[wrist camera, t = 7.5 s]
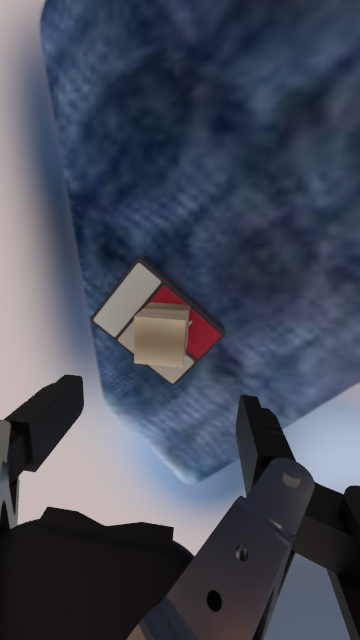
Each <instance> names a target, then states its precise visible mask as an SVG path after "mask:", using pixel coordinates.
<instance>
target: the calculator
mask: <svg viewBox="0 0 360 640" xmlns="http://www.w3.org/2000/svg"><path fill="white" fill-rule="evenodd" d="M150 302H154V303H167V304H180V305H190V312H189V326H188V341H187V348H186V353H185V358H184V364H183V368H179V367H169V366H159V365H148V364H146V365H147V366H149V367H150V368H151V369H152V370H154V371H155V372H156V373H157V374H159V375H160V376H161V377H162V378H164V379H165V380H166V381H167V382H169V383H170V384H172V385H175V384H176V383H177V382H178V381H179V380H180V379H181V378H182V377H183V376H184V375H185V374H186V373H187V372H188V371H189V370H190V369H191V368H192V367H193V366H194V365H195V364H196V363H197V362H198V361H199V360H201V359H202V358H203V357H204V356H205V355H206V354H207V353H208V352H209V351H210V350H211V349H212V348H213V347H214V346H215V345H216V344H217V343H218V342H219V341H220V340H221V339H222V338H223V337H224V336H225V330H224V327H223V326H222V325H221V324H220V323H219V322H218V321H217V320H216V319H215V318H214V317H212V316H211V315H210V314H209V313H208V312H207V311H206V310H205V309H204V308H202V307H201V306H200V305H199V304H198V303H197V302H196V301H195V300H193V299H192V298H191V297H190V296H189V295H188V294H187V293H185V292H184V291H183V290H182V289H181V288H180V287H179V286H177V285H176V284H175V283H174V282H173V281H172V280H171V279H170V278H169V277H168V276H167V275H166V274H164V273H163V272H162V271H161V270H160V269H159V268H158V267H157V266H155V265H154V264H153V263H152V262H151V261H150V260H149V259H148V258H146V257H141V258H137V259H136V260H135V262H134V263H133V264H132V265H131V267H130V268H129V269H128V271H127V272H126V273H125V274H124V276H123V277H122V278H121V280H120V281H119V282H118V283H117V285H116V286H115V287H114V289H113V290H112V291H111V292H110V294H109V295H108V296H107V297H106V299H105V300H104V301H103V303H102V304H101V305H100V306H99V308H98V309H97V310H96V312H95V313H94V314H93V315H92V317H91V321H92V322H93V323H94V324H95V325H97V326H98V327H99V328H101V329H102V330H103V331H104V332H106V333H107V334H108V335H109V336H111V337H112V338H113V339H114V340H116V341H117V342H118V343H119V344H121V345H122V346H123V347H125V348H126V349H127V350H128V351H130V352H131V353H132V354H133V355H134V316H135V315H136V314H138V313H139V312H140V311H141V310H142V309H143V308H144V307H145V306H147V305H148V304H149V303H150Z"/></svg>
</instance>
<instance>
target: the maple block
mask: <svg viewBox="0 0 360 640" xmlns="http://www.w3.org/2000/svg"><path fill="white" fill-rule="evenodd" d="M189 312H190V305H180V304H167V303H154V302H150V303H149V304H148V305H147V306H145V307H144V308H143V309H142V310H141V311H140V312H139V313H138V314H136V315H135V316H134V363H138V364H148V365H159V366H169V367H179V368H183V364H184V358H185V353H186V348H187V341H188V326H189Z"/></svg>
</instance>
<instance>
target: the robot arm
mask: <svg viewBox="0 0 360 640" xmlns="http://www.w3.org/2000/svg"><path fill="white" fill-rule="evenodd" d="M83 406H84V396H83V381H82V377H81V376H75V375H64V376H63V377H62V378H60V379H59V380H58V381H57V382H56V383H52V384H50V385H48V386H46V387H44V388H42V389H41V390H40V391H38V392H37V393H36V394H35V395H34V396H32V397H31V398H30V399H29V400H28V401H27V402H25V403H24V404H22V405H21V406H20V407H19V408H17V409H16V410H15V411H14V412H12V413H11V414H10V415H9V416H8V417H6V418H5V419H4V420H0V640H264V638H265V635H266V632H267V629H268V627H269V624H270V620H271V618H272V615H273V611H274V609H275V606H276V603H277V601H278V598H279V595H280V593H281V590H282V587H283V585H284V582H285V580H286V577H287V575H288V572H289V569H290V567H291V564H292V562H293V558H294V556H295V554H296V553H298V554H300V555H301V556H303V557H305V558H307V559H309V560H311V561H313V562H315V563H317V564H319V565H321V566H322V567H325V568H326V569H327V571H328V574H329V577H330V580H331V583H332V586H333V589H334V592H335V595H336V598H337V600H338V604H339V607H340V610H341V612H342V615H343V618H344V621H345V624H346V627H347V630H348V633H349V636H350V639H351V640H360V486H349V487H348V488H347V489H346V490H345V493H344V494H341V493H339V492H336V491H334V490H331V489H329V488H326V487H324V486H322V485H319V484H318V483H316V482H314V480H313V477H312V476H311V474H310V473H309V472H308V470H307V469H306V468H305V467H303V466H302V465H301V464H299V463H298V462H296V460H295V458H294V456H293V453H292V451H291V449H290V447H289V444H288V442H287V440H286V438H285V435H284V434H283V431H282V428H281V427H280V424H279V422H278V419H277V417H276V416H275V415H274V414H273V413H272V412H271V411H270V410H269V409H266V408H261V405H260V402H259V400H258V397H256V396H248V395H241V396H240V401H239V407H238V414H237V421H236V437H237V443H238V449H239V455H240V461H241V466H242V473H243V478H244V484H245V490H246V496H247V497H246V498H244V497H243V496H240V497H239V498H238V499H237V500H236V501H235V502H234V504H233V505H232V506H231V508H230V509H229V510H228V512H227V513H226V514H225V516H224V517H223V519H222V520H221V521H220V523H219V524H218V526H217V527H216V528H215V530H214V531H213V532H212V534H211V535H210V536H209V538H208V539H207V541H206V542H205V543H204V545H203V546H202V547H201V549H200V550H199V551H198V553H197V554H196V556H194V555H192V553H190V552H189V551H188V550H187V549H186V548H185V547H183V546H182V545H180V544H179V543H177V542H175V541H173V530H174V527H168V526H163V525H157V524H150V523H144V522H138V523H130V524H122V525H114V526H104V525H101V524H100V523H98V522H96V521H94V520H92V519H91V518H89V517H87V516H85V515H83V514H81V513H79V512H77V511H71V510H64V509H59V508H52V507H47V508H46V510H45V512H44V513H43V515H42V516H41V518H40V519H37V520H33V521H29V522H26V523H23V524H20V525H18V526H17V520H18V500H19V475H20V474H21V472H23V470H25V471H32V472H36V471H37V469H38V468H39V467H40V465H41V464H42V463H43V462H44V461H45V459H46V458H47V457H48V456H49V454H50V453H51V452H52V450H53V449H54V448H55V447H56V445H57V444H58V443H59V442H60V440H61V439H62V438H63V436H64V435H65V433H67V431H68V430H69V429H70V428H71V426H72V425H73V424H74V422H75V421H76V420H77V419H78V417H79V416H80V414H81V413H82V410H83Z"/></svg>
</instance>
